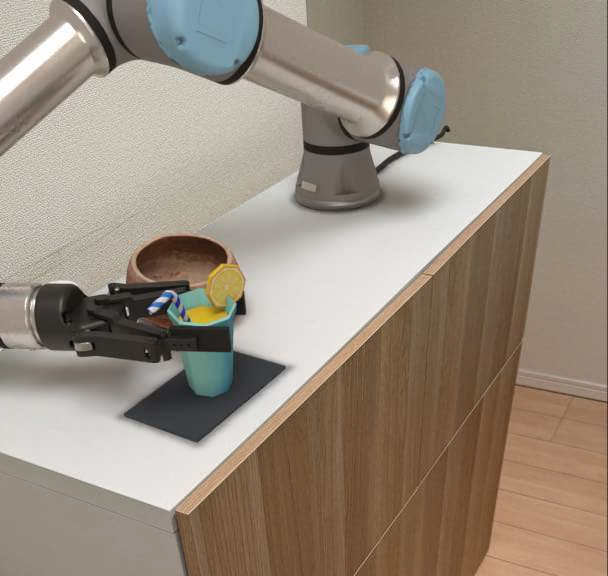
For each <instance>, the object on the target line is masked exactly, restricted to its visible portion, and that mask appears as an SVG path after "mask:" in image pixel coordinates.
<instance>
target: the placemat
mask: <svg viewBox="0 0 608 576" xmlns="http://www.w3.org/2000/svg"><path fill="white" fill-rule="evenodd" d="M286 367H287V366H286V365H284V364H280V363H277V362H274V361H270V360H266V359H263V358H259V357H257V356H253V355H250V354H246V353H243V352H239V351H235V350H233V381H232V383H231V386H230V388H229V390H228V391H227V392H225V393H222V394H219V395H217V396H214V397H210V396H203V395H197V394H196V393H195V392H194V391H193V390H192V389H191V387H190V386H189V384H188V380H187V376H186V372H185V368H184V369H183V370H181V371H180V372H178V373H177V374H176V375H174V376H173V377H171V378H170V379H169V380H167V381H166V382H165V383H163V384H162V385H161V386H159V387H158V388H157V389H155V390H153V392H151V393H150V394H148V395H147V396H146V397H144V398H142V399H141V400H140V401H139V402H137V403H136V404H135V405H133V406H132V407H131V408H129V409H128V410H127V411H125V412H124V413H123V417H125V418H128V419H130V420H134V421H136V422H139V423H141V424H144V425H148V426H150V427H152V428H156V429H159V430H161V431H164V432H167V433H170V434H173V435H175V436H178V437H181V438H184V439H186V440H189V441H192V442H195V443H199V442H200V441H201V440H202V439H203V438H205V437H206V436H207V435H209V434H210V433H211V432H212V431H213V430H214V429H215V428H216V427H218V426H219V425H221V423H223V422H224V421H225V420H226V419H228V418H229V417H230V416H231V415H232V414H233V413H235V412H236V411H237V410H238V409H239V408H241V407H242V406H243V405H244V404H245V403H247V402H248V401H249V400H250V399H251V398H252V397H254V396H255V395H256V394H257V393H258V392H259V391H261V390H262V389H263V388H264V387H266V386H267V385H268V384H269V383H271V382H272V381H273V380H274V379H275V378H276V377H278V376H279V375H280V374H281V373H282V372H283V371H285V370H286Z"/></svg>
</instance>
